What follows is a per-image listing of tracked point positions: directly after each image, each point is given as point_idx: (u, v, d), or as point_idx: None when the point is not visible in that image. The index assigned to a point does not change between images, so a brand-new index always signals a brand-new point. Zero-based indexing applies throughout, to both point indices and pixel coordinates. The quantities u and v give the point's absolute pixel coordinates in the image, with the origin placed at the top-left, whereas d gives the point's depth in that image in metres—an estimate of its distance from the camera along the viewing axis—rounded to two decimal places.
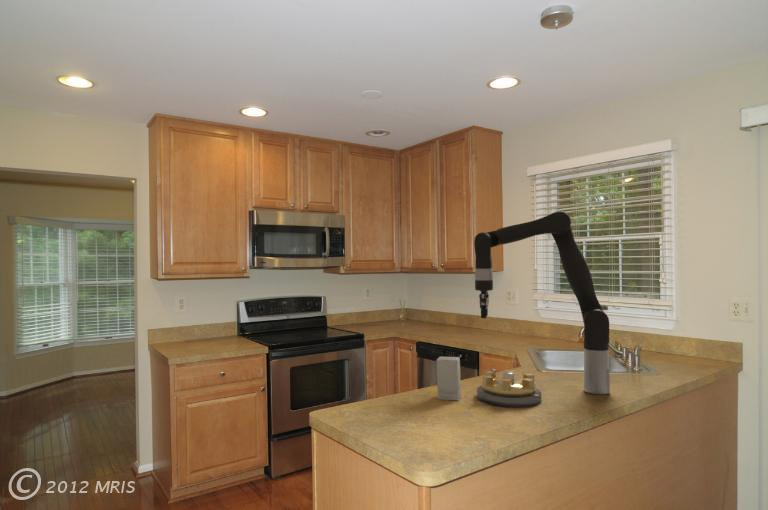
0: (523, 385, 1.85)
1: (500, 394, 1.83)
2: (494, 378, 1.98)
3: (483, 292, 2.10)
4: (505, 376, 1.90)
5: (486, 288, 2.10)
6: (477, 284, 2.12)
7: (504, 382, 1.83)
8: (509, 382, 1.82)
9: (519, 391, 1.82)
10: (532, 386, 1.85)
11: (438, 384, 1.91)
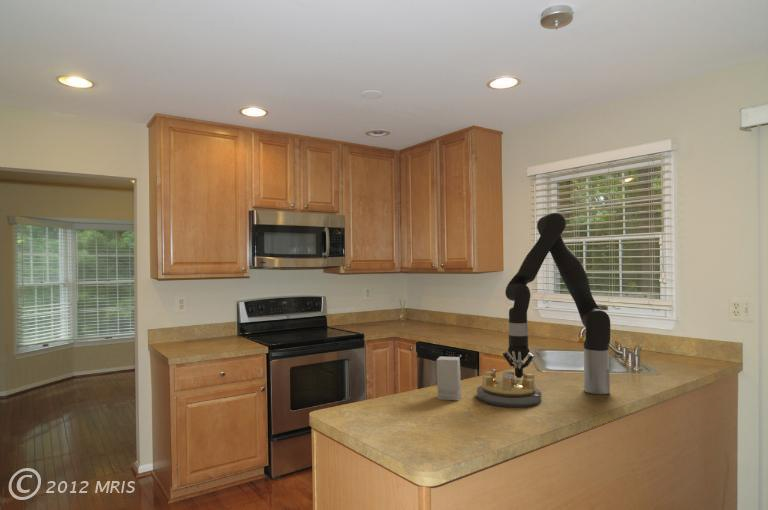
0: (523, 385, 1.85)
1: (500, 394, 1.83)
2: (494, 378, 1.98)
3: (527, 348, 1.96)
4: (505, 376, 1.90)
5: None
6: (522, 340, 1.94)
7: (504, 382, 1.83)
8: (509, 382, 1.82)
9: (519, 391, 1.82)
10: (532, 386, 1.85)
11: (438, 384, 1.91)
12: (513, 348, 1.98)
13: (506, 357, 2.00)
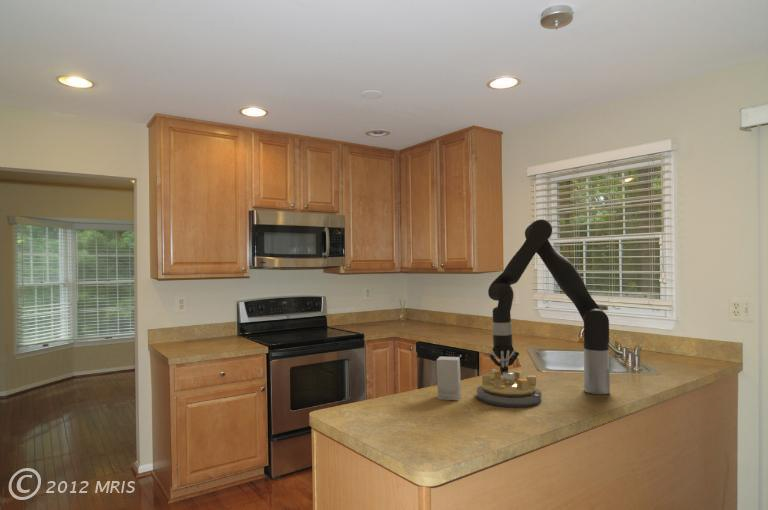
0: (529, 382, 1.89)
1: (519, 395, 1.82)
2: (489, 381, 1.94)
3: None
4: (509, 376, 1.90)
5: None
6: (511, 338, 1.98)
7: (523, 382, 1.82)
8: (527, 381, 1.83)
9: (533, 389, 1.85)
10: None
11: (438, 384, 1.91)
12: (500, 348, 1.99)
13: (493, 358, 1.99)
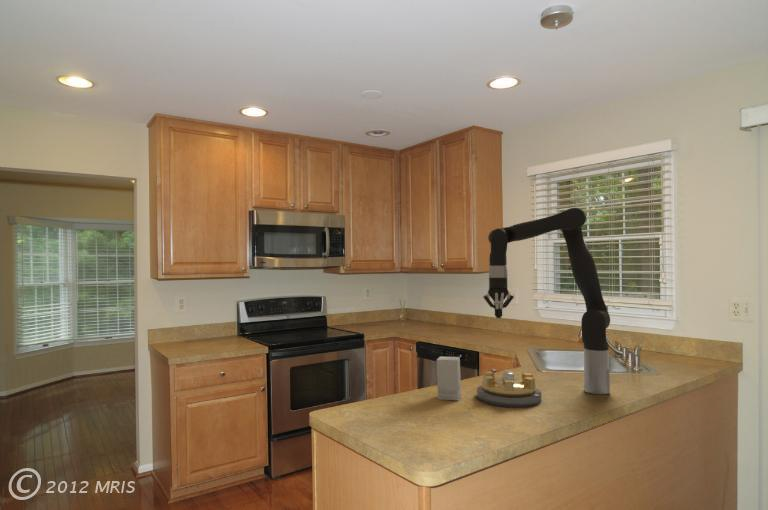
0: None
1: (529, 394, 1.84)
2: None
3: None
4: (511, 376, 1.90)
5: None
6: (506, 281, 2.07)
7: (532, 380, 1.85)
8: (534, 379, 1.86)
9: (535, 386, 1.89)
10: None
11: (438, 384, 1.91)
12: (495, 290, 2.08)
13: (488, 299, 2.08)
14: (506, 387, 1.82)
